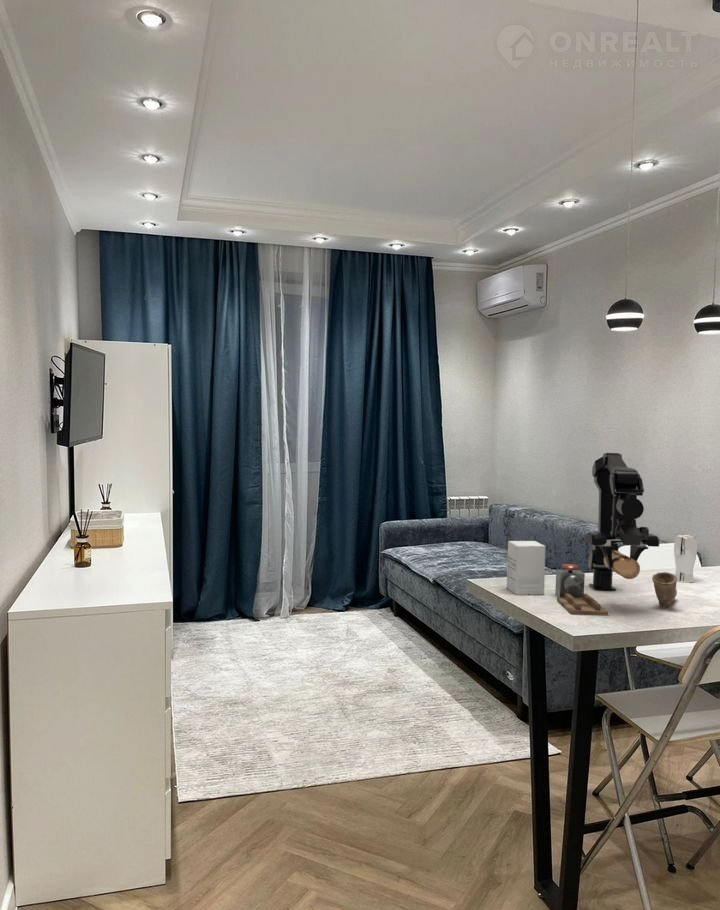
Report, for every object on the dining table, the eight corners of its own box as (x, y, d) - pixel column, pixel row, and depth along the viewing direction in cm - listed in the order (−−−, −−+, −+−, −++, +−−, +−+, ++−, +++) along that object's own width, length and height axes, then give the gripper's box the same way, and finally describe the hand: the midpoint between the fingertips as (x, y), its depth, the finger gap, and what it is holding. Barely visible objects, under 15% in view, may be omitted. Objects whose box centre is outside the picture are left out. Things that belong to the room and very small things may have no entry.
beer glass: (670, 577, 237) (673, 534, 236) (693, 579, 235) (695, 535, 235) (674, 582, 231) (676, 537, 230) (697, 583, 229) (699, 538, 228)
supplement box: (533, 587, 218) (535, 540, 217) (544, 595, 209) (546, 545, 208) (505, 587, 216) (507, 540, 216) (515, 595, 208) (517, 545, 207)
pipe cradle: (557, 600, 202) (557, 592, 202) (591, 601, 202) (591, 593, 202) (571, 614, 188) (571, 604, 188) (608, 615, 188) (608, 605, 188)
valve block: (555, 594, 209) (556, 563, 209) (578, 595, 209) (579, 564, 209) (561, 600, 202) (563, 568, 202) (585, 601, 202) (587, 569, 202)
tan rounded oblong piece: (603, 569, 201) (604, 550, 200) (622, 569, 201) (623, 550, 200) (618, 578, 189) (620, 558, 188) (639, 579, 189) (640, 559, 188)
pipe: (684, 600, 206) (685, 567, 206) (673, 612, 192) (675, 577, 192) (661, 597, 210) (662, 564, 209) (648, 608, 196) (650, 573, 196)
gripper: (599, 517, 186) (597, 575, 187) (669, 519, 186) (666, 577, 187) (586, 512, 197) (584, 566, 198) (652, 513, 197) (649, 568, 198)
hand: (620, 569), depth 195 cm, fingers closed on tan rounded oblong piece, 6 cm apart
